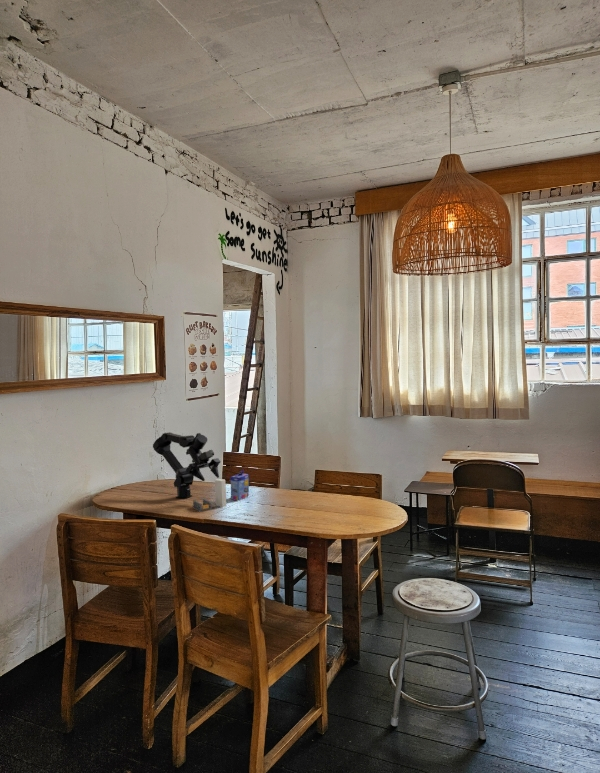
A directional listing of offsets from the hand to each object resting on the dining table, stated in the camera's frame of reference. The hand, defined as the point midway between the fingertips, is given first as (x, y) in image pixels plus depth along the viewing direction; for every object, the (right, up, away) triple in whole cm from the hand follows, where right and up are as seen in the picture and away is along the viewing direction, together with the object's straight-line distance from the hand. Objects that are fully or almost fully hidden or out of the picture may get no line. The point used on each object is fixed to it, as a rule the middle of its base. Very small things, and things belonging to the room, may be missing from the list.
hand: (211, 479), depth 265 cm
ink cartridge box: (+13, -12, +10) cm, 21 cm away
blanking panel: (+5, -13, -4) cm, 14 cm away
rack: (-3, -13, -7) cm, 15 cm away
